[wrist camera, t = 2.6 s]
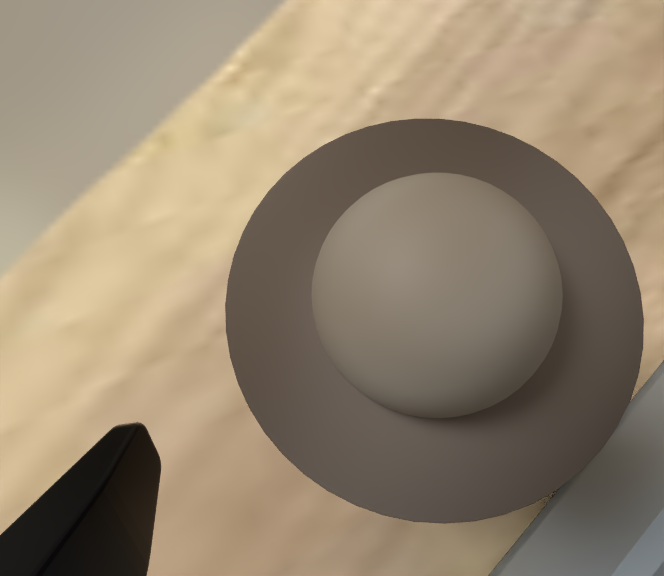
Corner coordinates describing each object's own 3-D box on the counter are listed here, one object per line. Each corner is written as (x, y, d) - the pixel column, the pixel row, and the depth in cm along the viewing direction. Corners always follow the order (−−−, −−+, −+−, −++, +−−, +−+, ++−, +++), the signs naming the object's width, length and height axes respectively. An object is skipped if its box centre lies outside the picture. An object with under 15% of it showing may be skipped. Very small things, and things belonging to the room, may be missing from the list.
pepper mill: (489, 371, 16) (870, 242, 4) (389, 484, 16) (493, 733, 3) (380, 274, 17) (425, -54, 5) (282, 375, 17) (68, 269, 4)
